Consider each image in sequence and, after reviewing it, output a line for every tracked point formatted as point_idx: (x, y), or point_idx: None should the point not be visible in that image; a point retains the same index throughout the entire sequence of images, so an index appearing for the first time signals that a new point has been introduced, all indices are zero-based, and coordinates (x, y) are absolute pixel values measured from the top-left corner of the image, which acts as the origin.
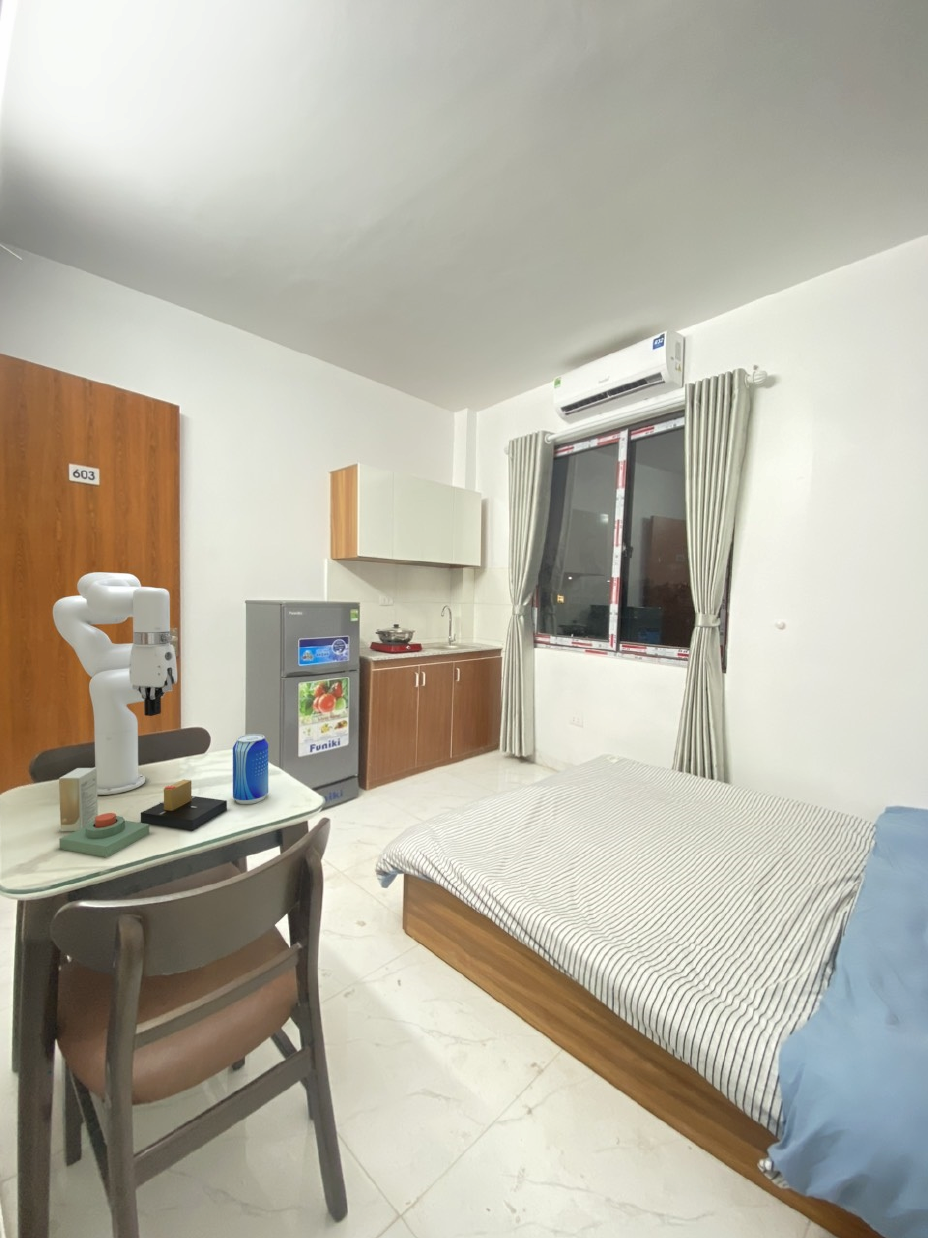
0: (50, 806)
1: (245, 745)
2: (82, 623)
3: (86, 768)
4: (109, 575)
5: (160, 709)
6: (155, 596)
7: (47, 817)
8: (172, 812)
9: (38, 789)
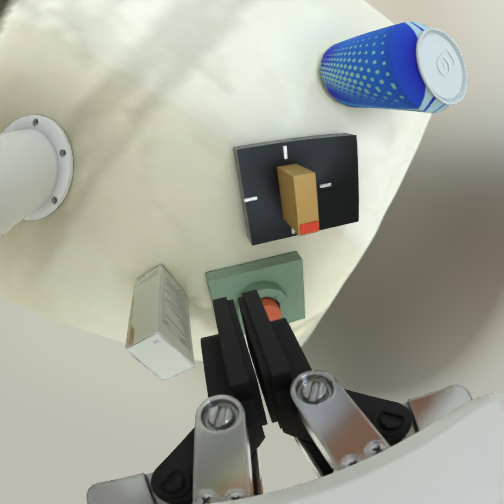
0: (45, 277)
1: (448, 105)
2: None
3: (145, 343)
4: None
5: (262, 304)
6: None
7: (88, 298)
8: None
9: None
